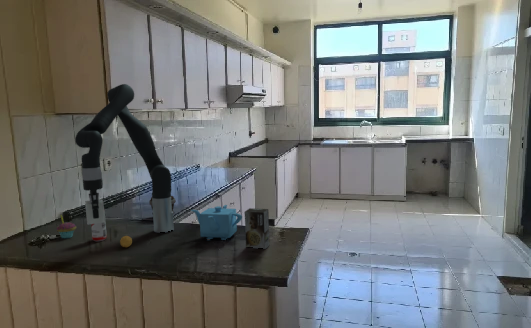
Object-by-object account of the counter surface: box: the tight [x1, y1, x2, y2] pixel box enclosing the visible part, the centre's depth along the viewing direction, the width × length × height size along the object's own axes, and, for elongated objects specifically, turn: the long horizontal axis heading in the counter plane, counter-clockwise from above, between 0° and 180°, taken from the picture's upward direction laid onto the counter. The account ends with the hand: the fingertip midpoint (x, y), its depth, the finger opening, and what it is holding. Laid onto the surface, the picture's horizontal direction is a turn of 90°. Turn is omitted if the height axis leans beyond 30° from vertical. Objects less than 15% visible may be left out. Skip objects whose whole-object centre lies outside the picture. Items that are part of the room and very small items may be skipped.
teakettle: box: [190, 204, 243, 241], centre depth 187 cm, size 19×19×15 cm
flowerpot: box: [148, 188, 176, 215], centre depth 229 cm, size 14×15×20 cm
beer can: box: [90, 209, 107, 243], centre depth 188 cm, size 6×6×16 cm
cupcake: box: [56, 213, 77, 239], centre depth 194 cm, size 9×8×12 cm
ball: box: [119, 235, 133, 248], centre depth 176 cm, size 5×5×5 cm
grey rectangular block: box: [84, 198, 106, 226], centre depth 170 cm, size 7×7×9 cm
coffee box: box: [244, 207, 270, 250], centre depth 172 cm, size 9×6×16 cm
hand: (95, 216), depth 170 cm, fingers closed on grey rectangular block, 7 cm apart
